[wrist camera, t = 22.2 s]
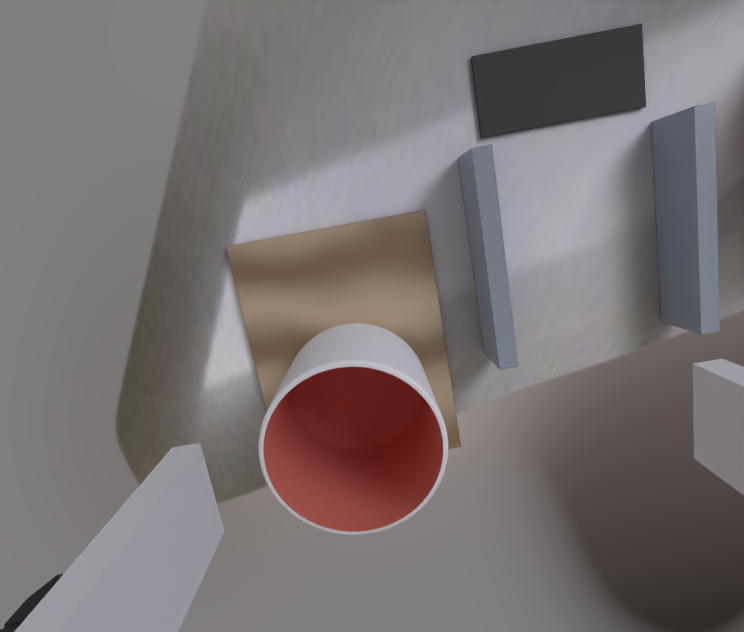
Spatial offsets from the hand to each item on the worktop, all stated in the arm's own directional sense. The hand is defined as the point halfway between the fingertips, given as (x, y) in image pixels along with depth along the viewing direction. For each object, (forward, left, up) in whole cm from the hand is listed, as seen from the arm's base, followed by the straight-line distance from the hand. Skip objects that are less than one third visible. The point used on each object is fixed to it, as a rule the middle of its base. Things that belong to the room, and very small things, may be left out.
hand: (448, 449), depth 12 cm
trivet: (+3, -4, -21) cm, 21 cm away
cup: (+5, -4, -21) cm, 22 cm away
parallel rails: (-2, +13, -21) cm, 25 cm away
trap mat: (-13, +13, -21) cm, 28 cm away
